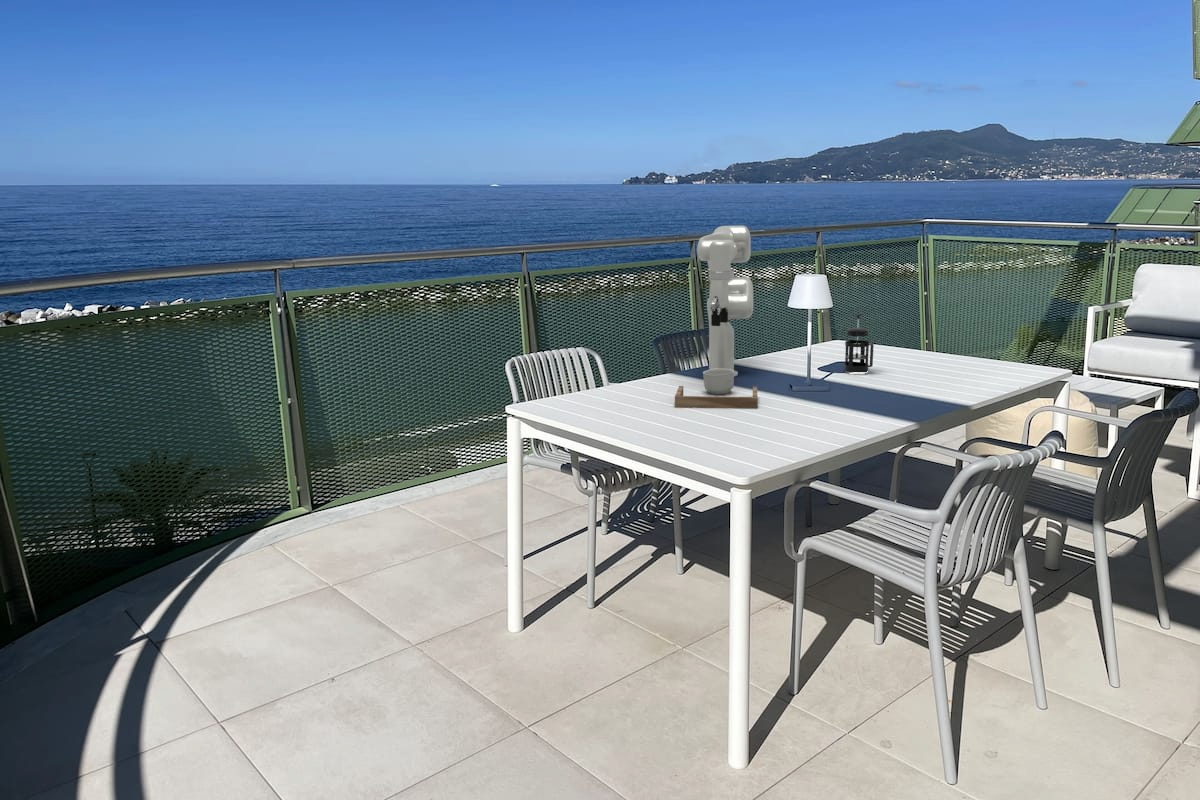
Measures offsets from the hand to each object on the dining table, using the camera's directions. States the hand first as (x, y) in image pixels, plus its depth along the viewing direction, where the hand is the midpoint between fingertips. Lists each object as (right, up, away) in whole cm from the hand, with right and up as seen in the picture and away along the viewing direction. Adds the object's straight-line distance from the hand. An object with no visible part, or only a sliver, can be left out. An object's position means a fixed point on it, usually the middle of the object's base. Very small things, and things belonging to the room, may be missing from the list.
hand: (719, 324), depth 310 cm
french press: (+57, -17, +23) cm, 64 cm away
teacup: (-1, -25, -3) cm, 25 cm away
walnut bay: (-3, -28, -18) cm, 33 cm away
